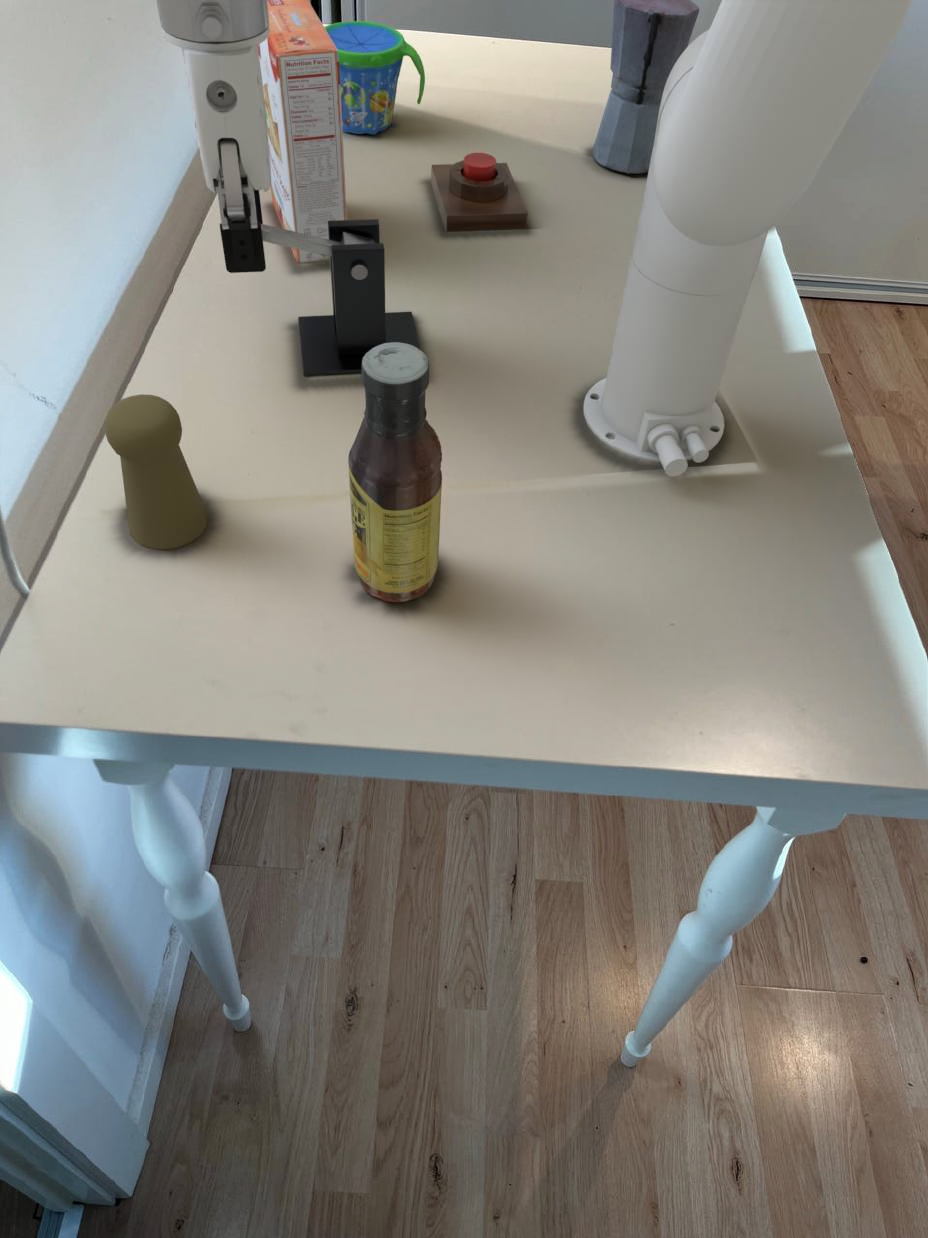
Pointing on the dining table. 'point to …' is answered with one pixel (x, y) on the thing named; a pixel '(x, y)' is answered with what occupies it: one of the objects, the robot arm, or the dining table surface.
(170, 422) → the olive pawn
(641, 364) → the robot arm
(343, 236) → the lever
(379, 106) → the snack cup
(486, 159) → the button
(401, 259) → the dining table surface
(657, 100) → the moka pot
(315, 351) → the bracket
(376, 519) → the sauce bottle
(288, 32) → the cracker box
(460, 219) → the button block
